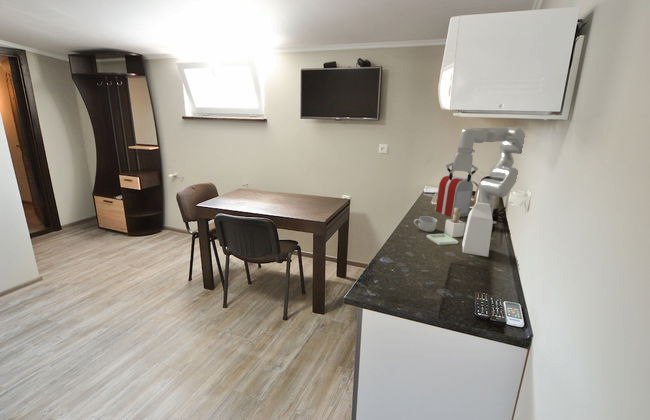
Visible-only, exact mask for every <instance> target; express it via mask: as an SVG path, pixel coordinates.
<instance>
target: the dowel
mask: <svg viewBox="0 0 650 420" xmlns="http://www.w3.org/2000/svg"><path fill="white" fill-rule="evenodd" d="M460 212H461V209H460V208H454V214H453V218H452V219H453V220H452V222H453V223H459V220H460Z"/></svg>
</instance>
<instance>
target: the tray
mask: <svg viewBox="0 0 650 420" xmlns="http://www.w3.org/2000/svg"><path fill="white" fill-rule="evenodd" d="M426 239H427V240H429V241H430V242H431V243H434V244H435V245H437V246H443V245H455V244H459V240H457V239H456V238H455V237H451V236H449V235H447V234H446V233H435V234H434V233H433V234H426Z"/></svg>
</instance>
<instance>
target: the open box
mask: <svg viewBox="0 0 650 420" xmlns="http://www.w3.org/2000/svg"><path fill="white" fill-rule="evenodd" d="M452 220H453V218H452V219H445V224H444V225H445V226H444V232H443V234H447V235H448V236H450V237H452V238H459V237H464V233H465V229H466V222H464V221H462V220H460V219H459V223H453V222H452Z"/></svg>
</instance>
